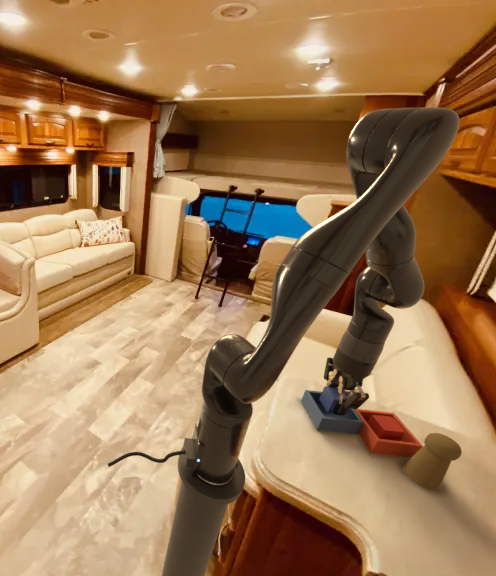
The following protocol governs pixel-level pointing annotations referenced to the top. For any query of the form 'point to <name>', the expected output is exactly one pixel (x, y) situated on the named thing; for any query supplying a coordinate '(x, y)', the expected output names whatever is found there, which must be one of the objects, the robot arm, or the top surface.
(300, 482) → the top surface
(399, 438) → the red block
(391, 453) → the red bin
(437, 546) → the top surface
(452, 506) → the top surface
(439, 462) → the cork
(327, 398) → the blue block
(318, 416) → the blue bin
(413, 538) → the top surface
